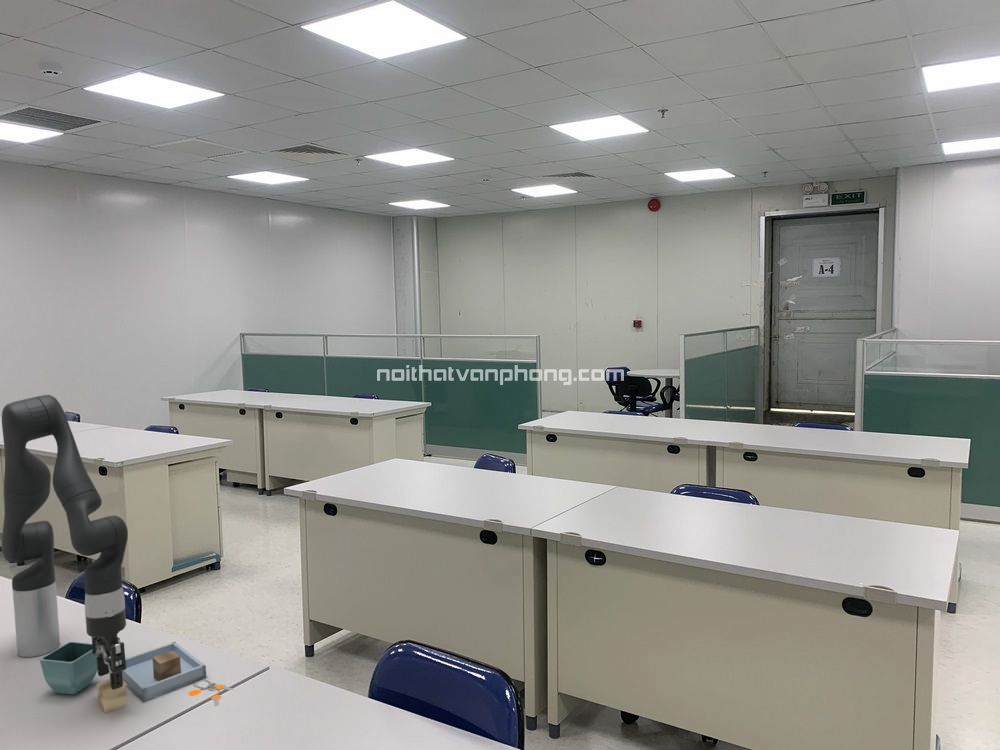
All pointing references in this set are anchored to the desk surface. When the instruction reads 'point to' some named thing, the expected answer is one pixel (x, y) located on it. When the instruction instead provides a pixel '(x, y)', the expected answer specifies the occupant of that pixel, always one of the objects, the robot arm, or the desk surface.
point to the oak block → (111, 696)
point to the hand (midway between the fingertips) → (110, 681)
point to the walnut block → (166, 665)
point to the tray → (143, 677)
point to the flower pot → (69, 667)
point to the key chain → (218, 687)
